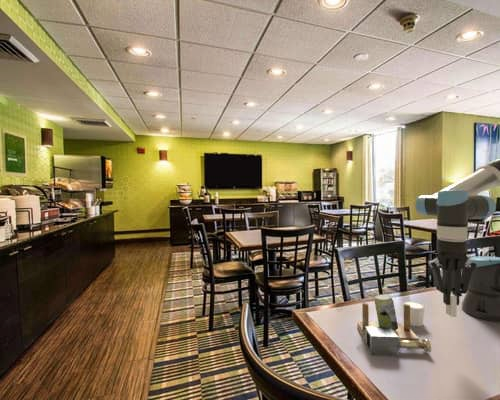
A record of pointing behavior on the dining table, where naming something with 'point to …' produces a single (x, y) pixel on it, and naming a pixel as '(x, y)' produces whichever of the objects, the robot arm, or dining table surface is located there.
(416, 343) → the pin
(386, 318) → the beverage can
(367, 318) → the peg stand
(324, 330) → the dining table surface
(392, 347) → the slot block
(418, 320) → the beige tapered cylinder
